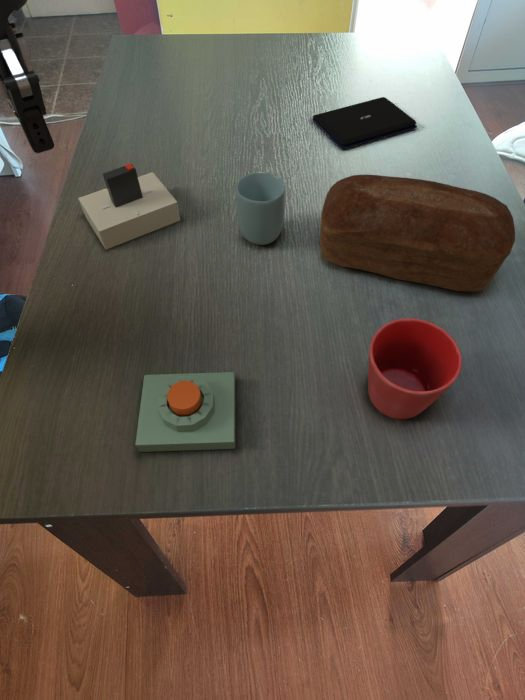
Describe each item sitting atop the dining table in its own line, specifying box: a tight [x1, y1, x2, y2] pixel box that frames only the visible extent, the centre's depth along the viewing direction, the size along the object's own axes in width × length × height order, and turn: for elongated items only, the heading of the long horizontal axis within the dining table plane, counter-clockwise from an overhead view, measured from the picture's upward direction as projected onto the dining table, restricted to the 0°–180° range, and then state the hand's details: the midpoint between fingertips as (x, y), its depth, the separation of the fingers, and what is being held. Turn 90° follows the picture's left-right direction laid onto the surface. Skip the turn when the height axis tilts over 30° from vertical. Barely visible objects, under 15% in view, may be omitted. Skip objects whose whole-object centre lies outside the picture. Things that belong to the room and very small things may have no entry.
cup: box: [235, 171, 287, 246], centre depth 76 cm, size 8×8×10 cm
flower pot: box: [367, 317, 463, 420], centre depth 58 cm, size 11×11×10 cm
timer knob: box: [102, 162, 143, 207], centre depth 77 cm, size 5×2×6 cm, turn 123°
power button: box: [167, 381, 202, 416], centre depth 57 cm, size 4×4×2 cm
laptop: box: [312, 96, 418, 150], centre depth 99 cm, size 16×20×2 cm
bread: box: [319, 174, 516, 292], centre depth 72 cm, size 14×28×12 cm, turn 73°
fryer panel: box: [77, 171, 181, 251], centre depth 81 cm, size 14×10×4 cm
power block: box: [134, 371, 236, 453], centre depth 59 cm, size 12×10×4 cm
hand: (43, 147), depth 48 cm, fingers closed
